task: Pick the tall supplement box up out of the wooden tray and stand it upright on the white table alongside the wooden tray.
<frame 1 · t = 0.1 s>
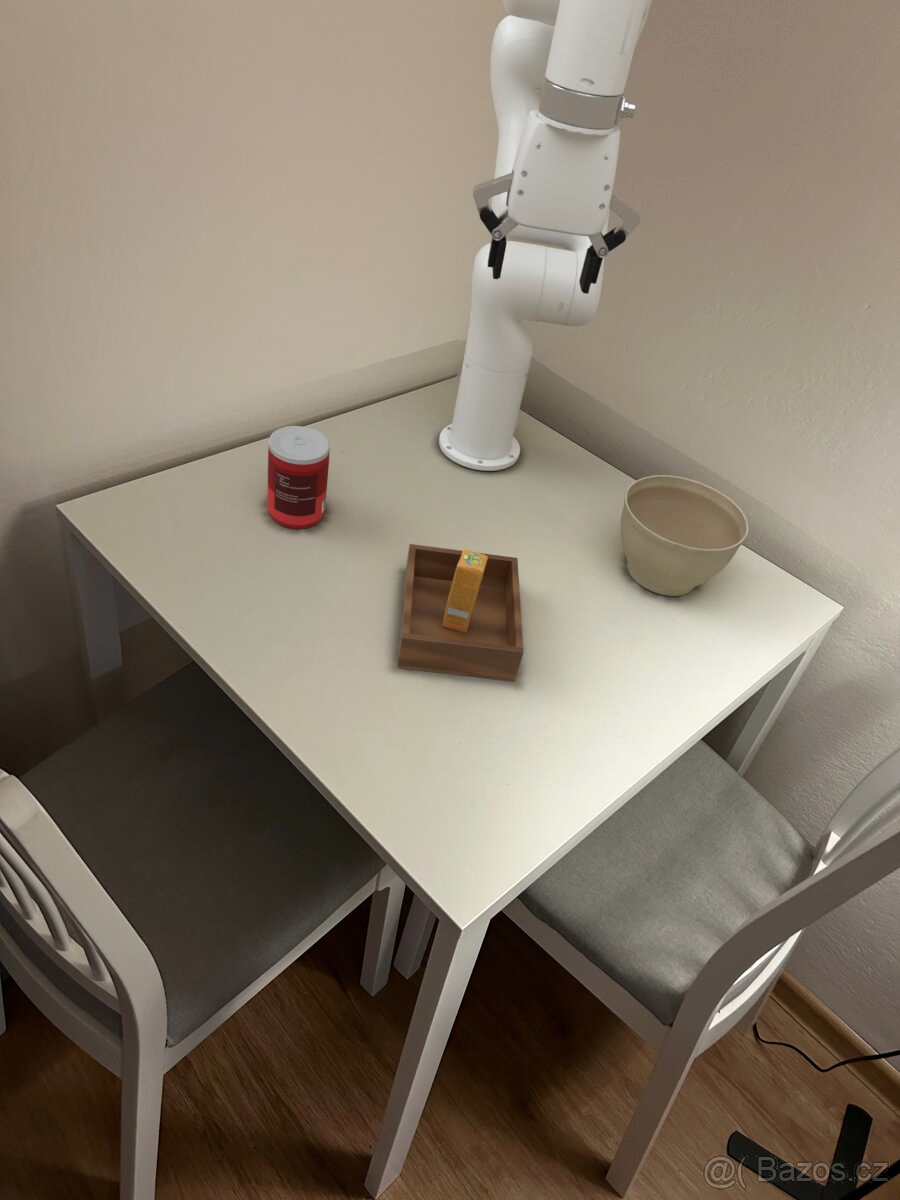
hand: (539, 281, 96), 37 cm above the table, tool pointing down, fingers open, 9 cm apart
wooden tray: (457, 624, 109), on the table
supplement box: (457, 623, 108), resting on wooden tray
canned food: (296, 513, 120), on the table
planter bowl: (660, 574, 122), on the table
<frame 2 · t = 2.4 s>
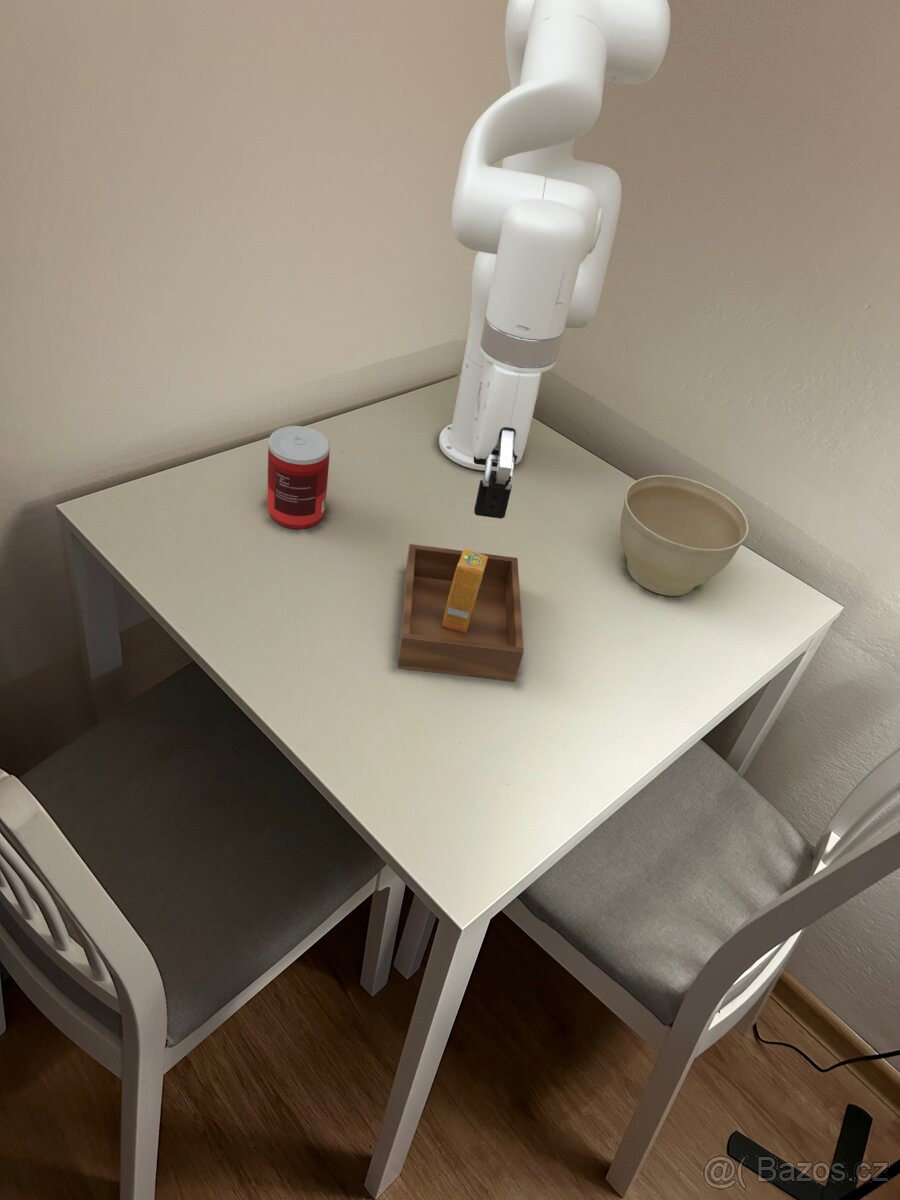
hand: (488, 488, 97), 19 cm above the table, tool pointing down, fingers open, 9 cm apart
nothing on the table moved.
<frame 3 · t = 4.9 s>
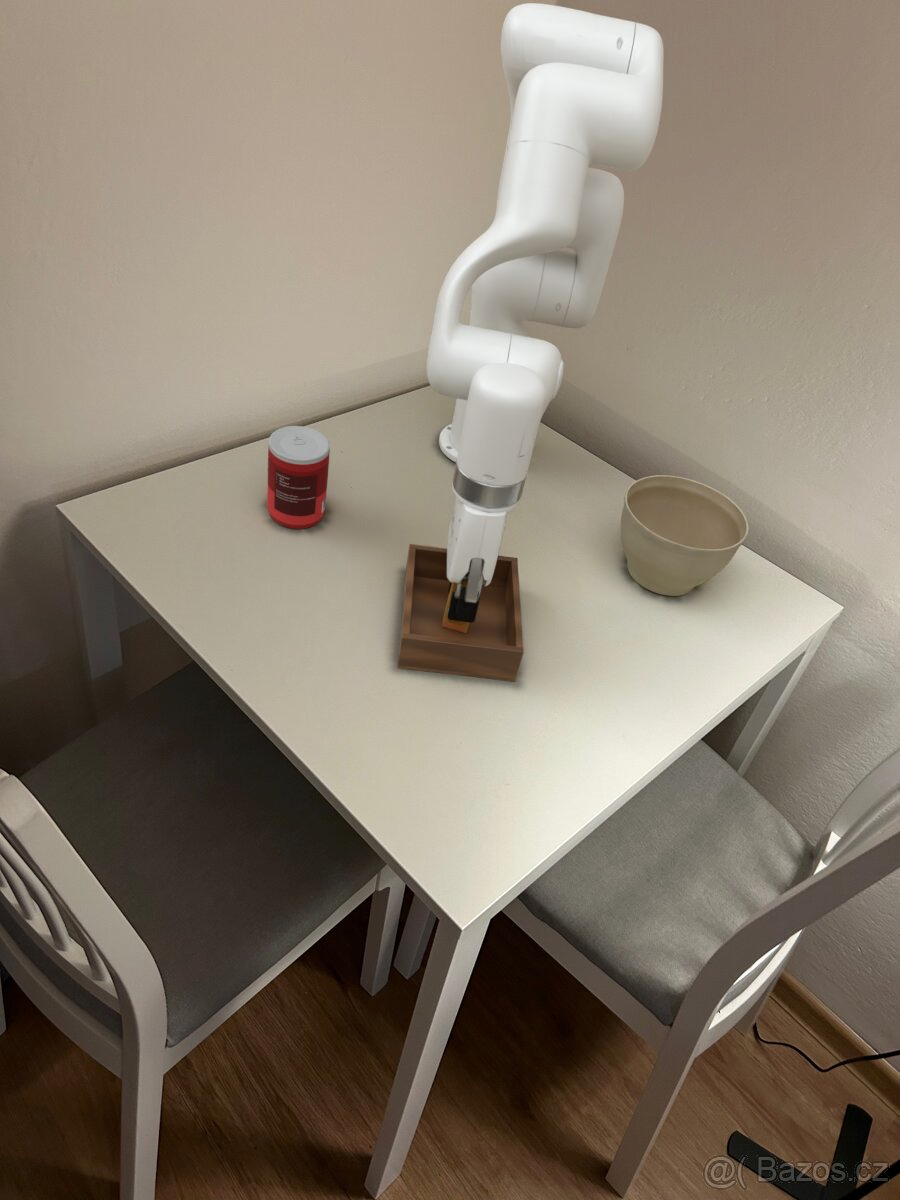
hand: (461, 605, 106), 3 cm above the table, tool pointing down, fingers closed on supplement box, 3 cm apart
supplement box: (457, 623, 108), resting on wooden tray, touching gripper
everything else where it was.
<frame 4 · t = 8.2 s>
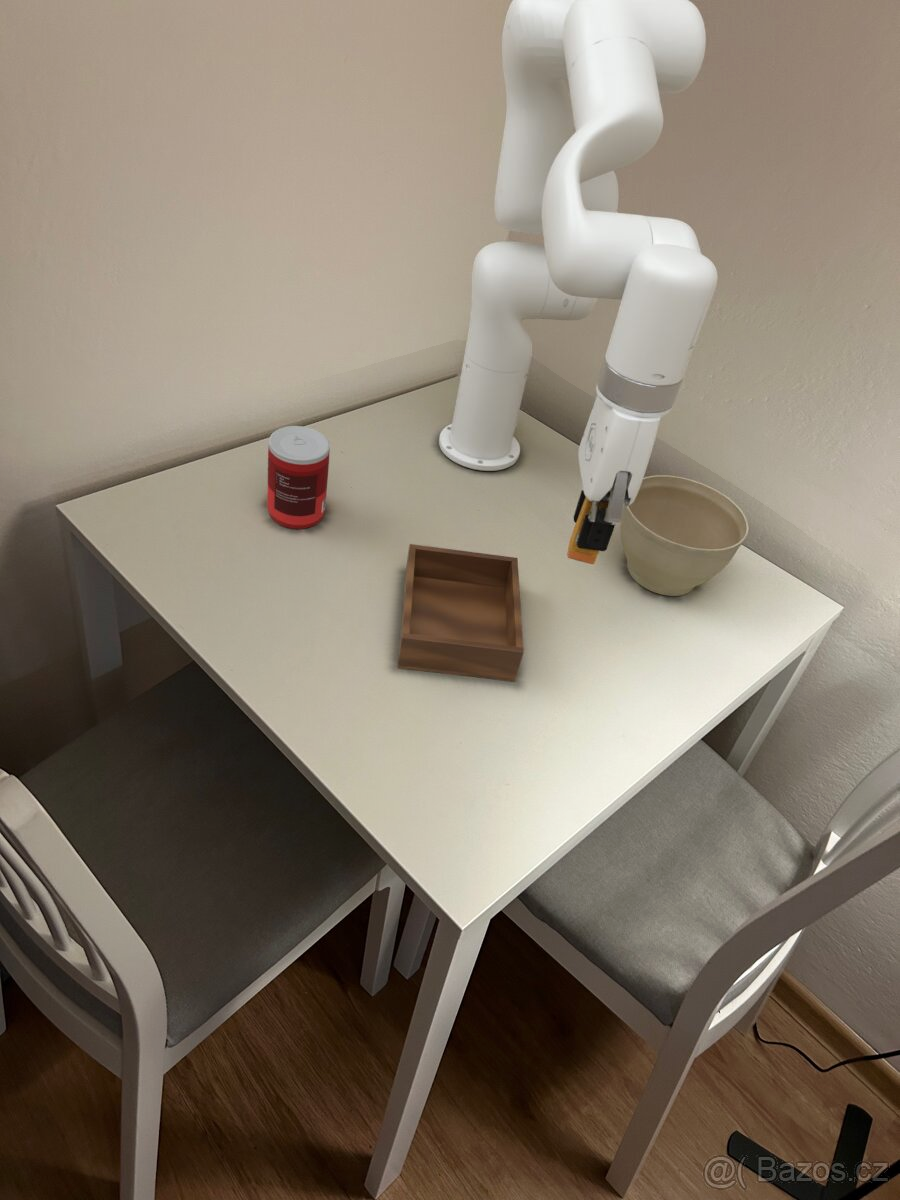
hand: (589, 534, 97), 17 cm above the table, tool pointing down, fingers closed on supplement box, 3 cm apart
supplement box: (582, 554, 99), point 14 cm above the table, touching gripper
everything else where it was.
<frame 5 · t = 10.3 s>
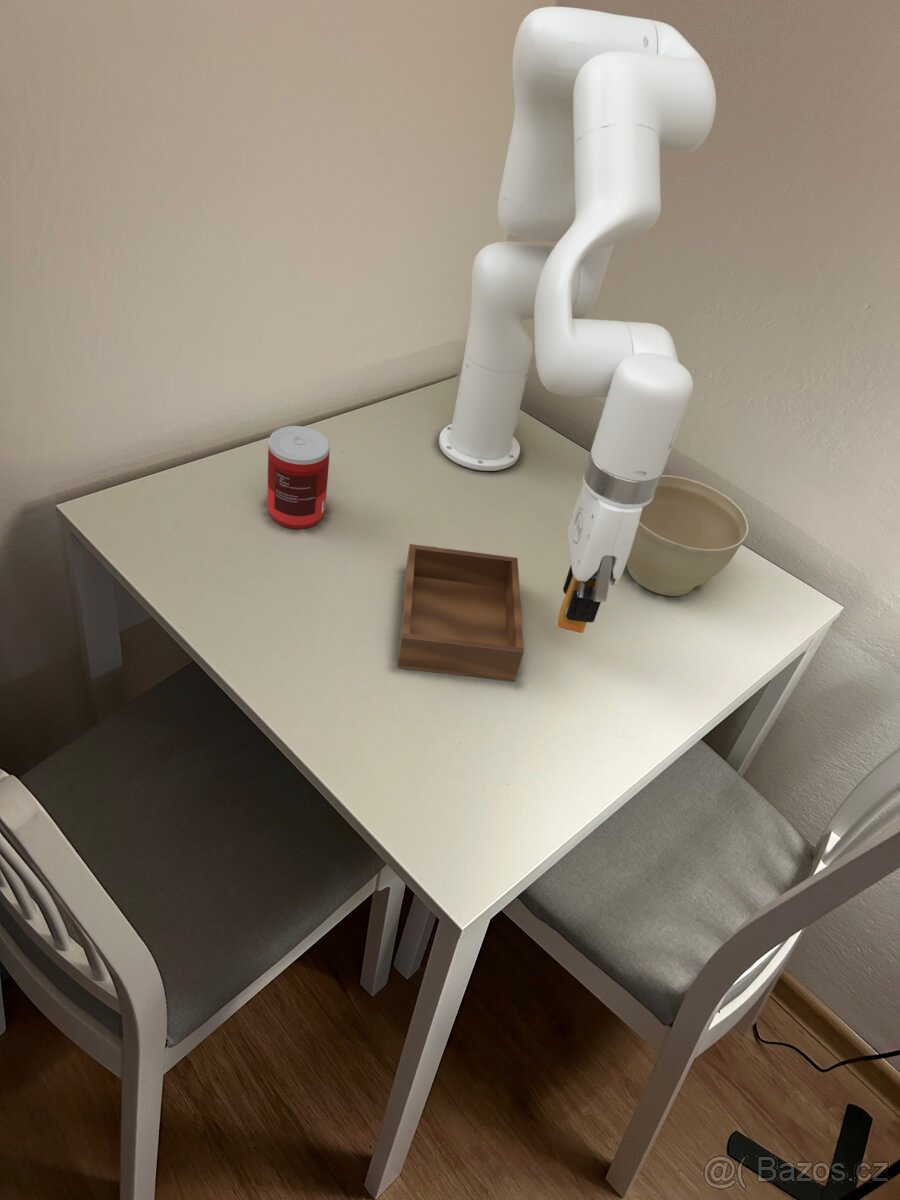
hand: (578, 605, 103), 7 cm above the table, tool pointing down, fingers closed on supplement box, 3 cm apart
supplement box: (572, 623, 105), point 4 cm above the table, touching gripper
everything else where it was.
when the fingers open (3 cm above the table, at t = 11.7 s): supplement box stays where it is, on the table.
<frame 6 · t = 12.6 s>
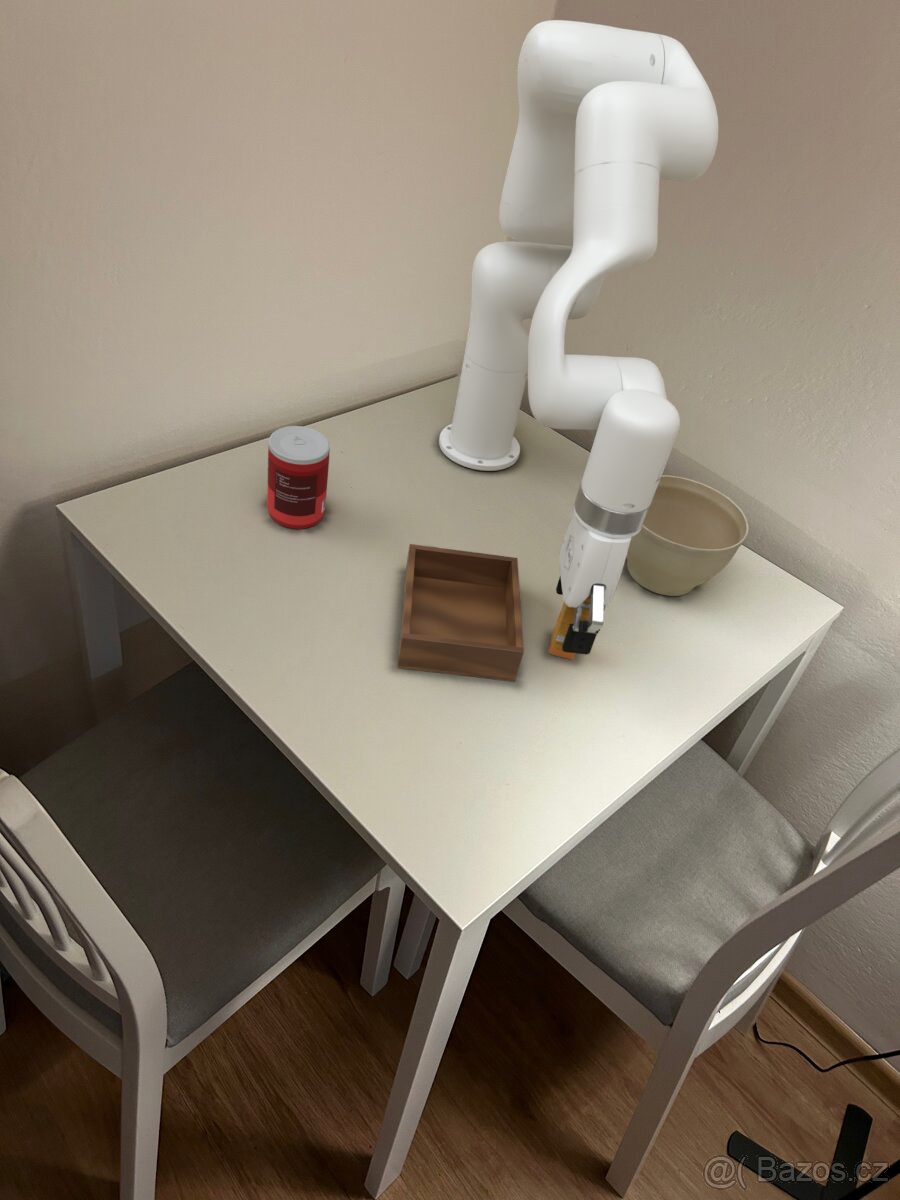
hand: (571, 621, 105), 4 cm above the table, tool pointing down, fingers open, 9 cm apart
supplement box: (562, 650, 108), on the table
everything else where it was.
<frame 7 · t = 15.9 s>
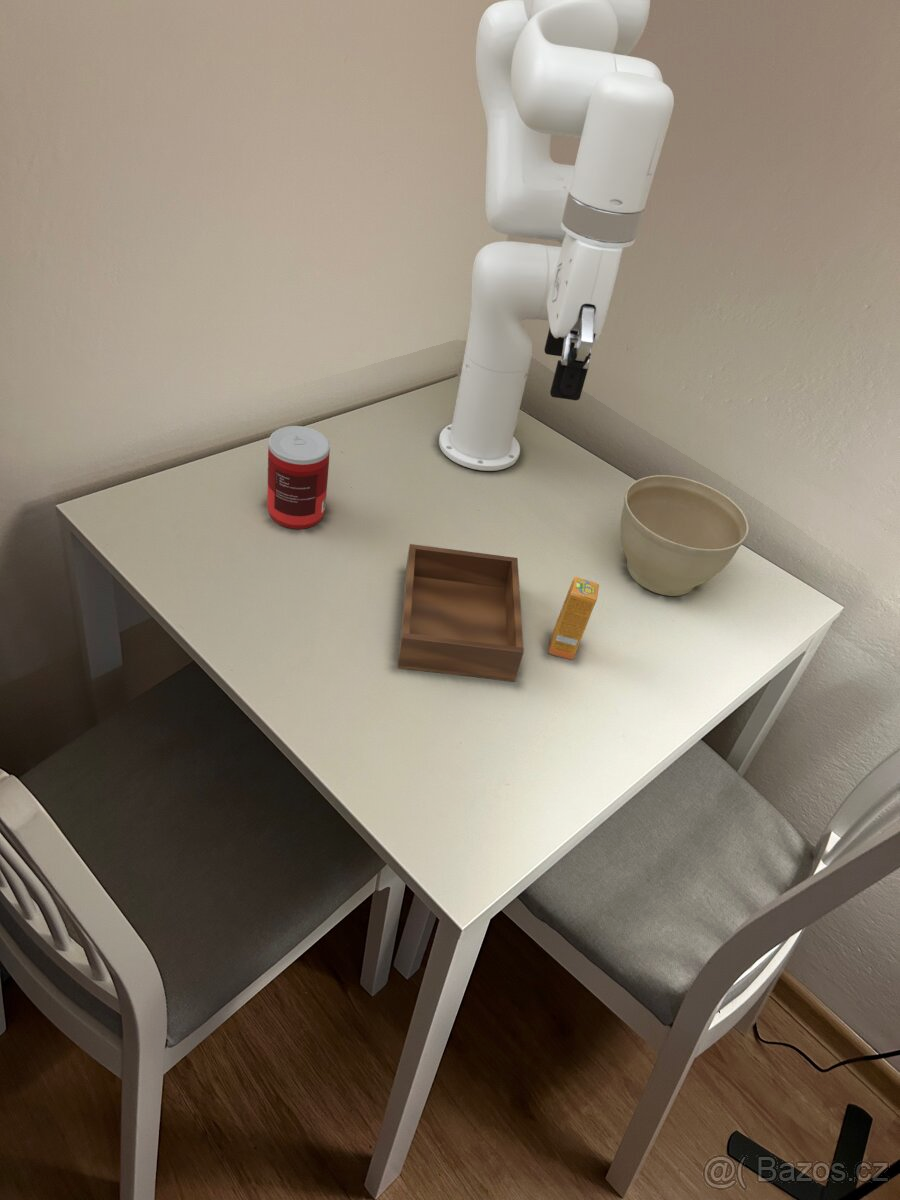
hand: (560, 375, 99), 28 cm above the table, tool pointing down, fingers open, 9 cm apart
nothing on the table moved.
at the end: supplement box inside the target area (0.1 cm from its centre), on the table; supplement box tilted 0°; the gripper is holding nothing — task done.
